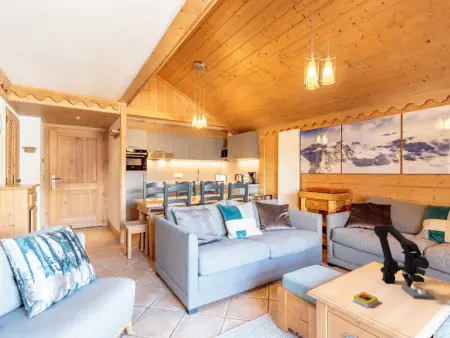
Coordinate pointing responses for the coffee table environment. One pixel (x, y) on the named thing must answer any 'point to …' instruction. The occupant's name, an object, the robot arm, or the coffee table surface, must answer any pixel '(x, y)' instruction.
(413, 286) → the knob
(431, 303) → the coffee table surface
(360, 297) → the emergency button
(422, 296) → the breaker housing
